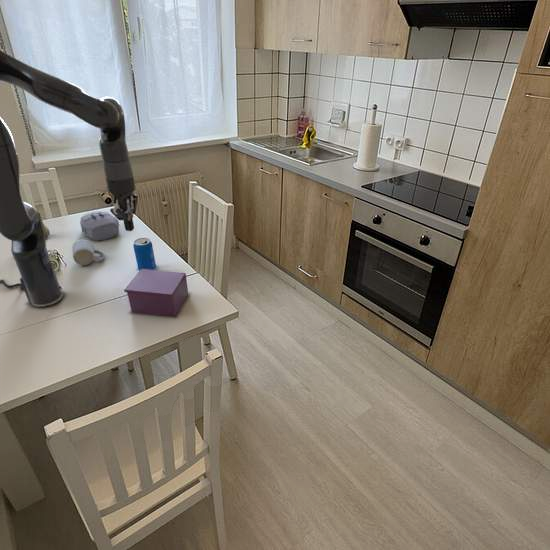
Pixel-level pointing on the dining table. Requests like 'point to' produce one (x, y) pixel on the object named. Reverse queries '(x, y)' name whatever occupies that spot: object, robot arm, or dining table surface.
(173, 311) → the file box
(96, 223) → the grey rounded bag
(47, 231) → the fennel bulb
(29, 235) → the robot arm
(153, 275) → the lid
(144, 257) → the beverage can
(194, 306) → the dining table surface
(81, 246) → the ceramic mug
